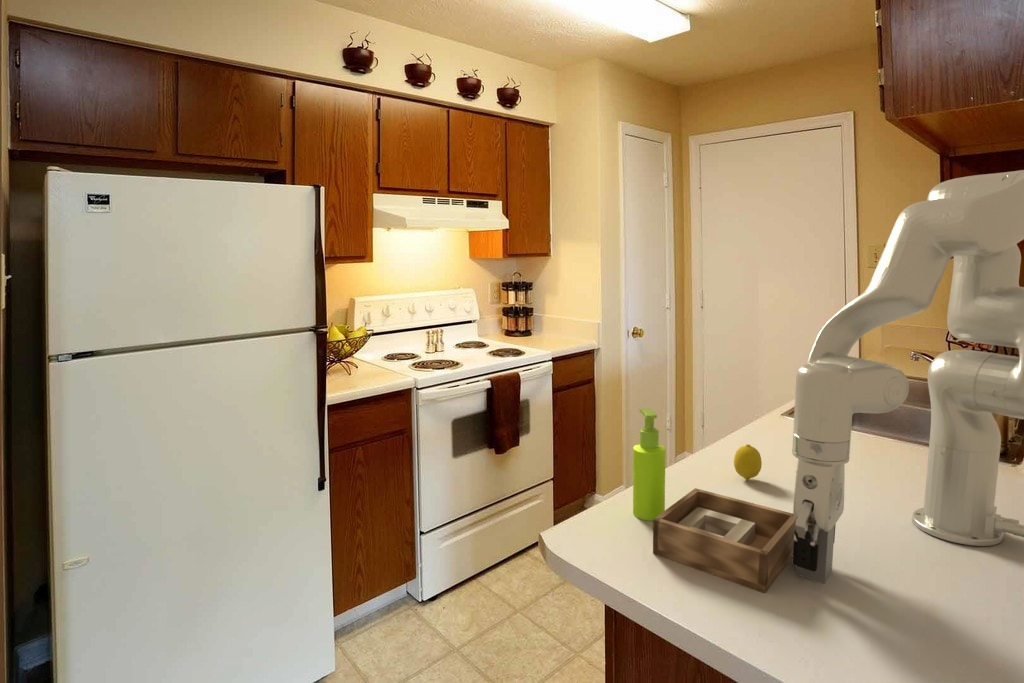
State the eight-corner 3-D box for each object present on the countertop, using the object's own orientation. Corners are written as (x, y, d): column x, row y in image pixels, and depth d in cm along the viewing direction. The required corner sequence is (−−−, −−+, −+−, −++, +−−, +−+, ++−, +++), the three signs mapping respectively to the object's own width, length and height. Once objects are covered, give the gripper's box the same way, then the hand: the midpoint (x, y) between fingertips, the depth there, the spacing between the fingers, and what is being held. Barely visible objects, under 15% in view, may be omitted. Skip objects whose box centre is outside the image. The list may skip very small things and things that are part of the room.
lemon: (756, 475, 127) (757, 440, 126) (764, 485, 122) (765, 448, 120) (730, 474, 128) (731, 440, 126) (737, 484, 122) (738, 448, 121)
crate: (797, 549, 96) (799, 515, 95) (764, 593, 84) (766, 554, 83) (694, 518, 108) (695, 488, 107) (652, 553, 96) (653, 519, 95)
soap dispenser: (657, 504, 114) (658, 406, 111) (668, 520, 108) (669, 416, 104) (628, 505, 114) (628, 407, 111) (637, 521, 107) (637, 417, 104)
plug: (831, 572, 89) (835, 511, 87) (824, 583, 86) (828, 520, 84) (803, 563, 92) (806, 504, 90) (796, 574, 89) (799, 513, 87)
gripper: (833, 469, 77) (826, 588, 79) (862, 437, 89) (854, 540, 92) (774, 457, 82) (769, 569, 84) (809, 428, 94) (804, 526, 97)
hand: (814, 554), depth 88 cm, fingers open, 9 cm apart
